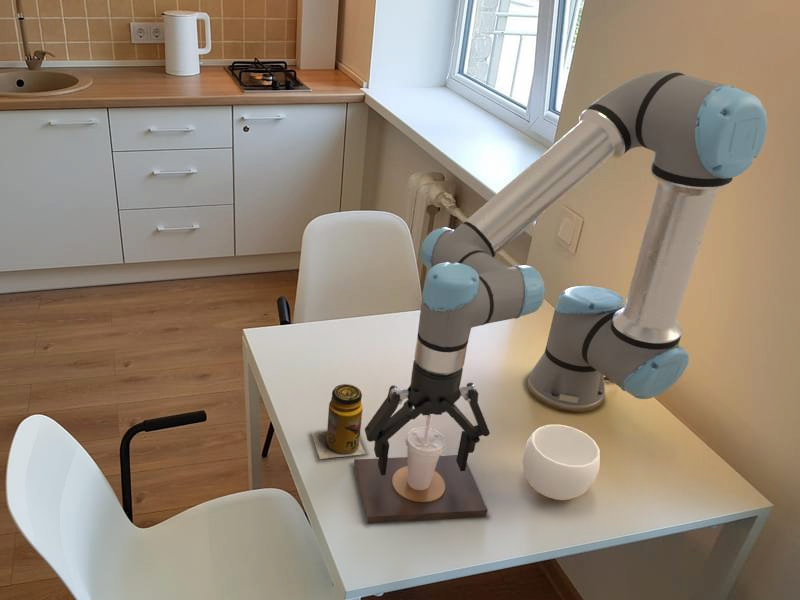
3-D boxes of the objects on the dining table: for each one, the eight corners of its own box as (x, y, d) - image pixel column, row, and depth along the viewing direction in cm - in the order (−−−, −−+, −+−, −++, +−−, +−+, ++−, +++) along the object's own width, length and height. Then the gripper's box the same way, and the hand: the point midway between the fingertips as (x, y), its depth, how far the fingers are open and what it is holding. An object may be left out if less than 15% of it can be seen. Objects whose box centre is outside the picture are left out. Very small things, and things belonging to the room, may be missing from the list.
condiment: (365, 454, 131) (370, 401, 125) (319, 459, 130) (323, 406, 123) (354, 429, 137) (359, 377, 131) (311, 434, 136) (314, 381, 129)
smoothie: (436, 472, 126) (448, 407, 118) (438, 497, 121) (450, 432, 113) (399, 468, 126) (409, 403, 119) (399, 493, 121) (409, 428, 113)
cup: (603, 506, 123) (618, 463, 118) (538, 518, 120) (551, 474, 115) (565, 459, 133) (577, 417, 128) (504, 468, 130) (515, 426, 125)
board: (462, 460, 131) (463, 453, 130) (486, 516, 120) (487, 509, 119) (353, 465, 129) (354, 458, 128) (367, 523, 117) (368, 516, 116)
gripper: (508, 347, 114) (485, 449, 126) (353, 351, 111) (344, 456, 123) (525, 374, 108) (500, 479, 120) (361, 379, 105) (351, 487, 117)
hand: (421, 467), depth 122 cm, fingers open, 13 cm apart
